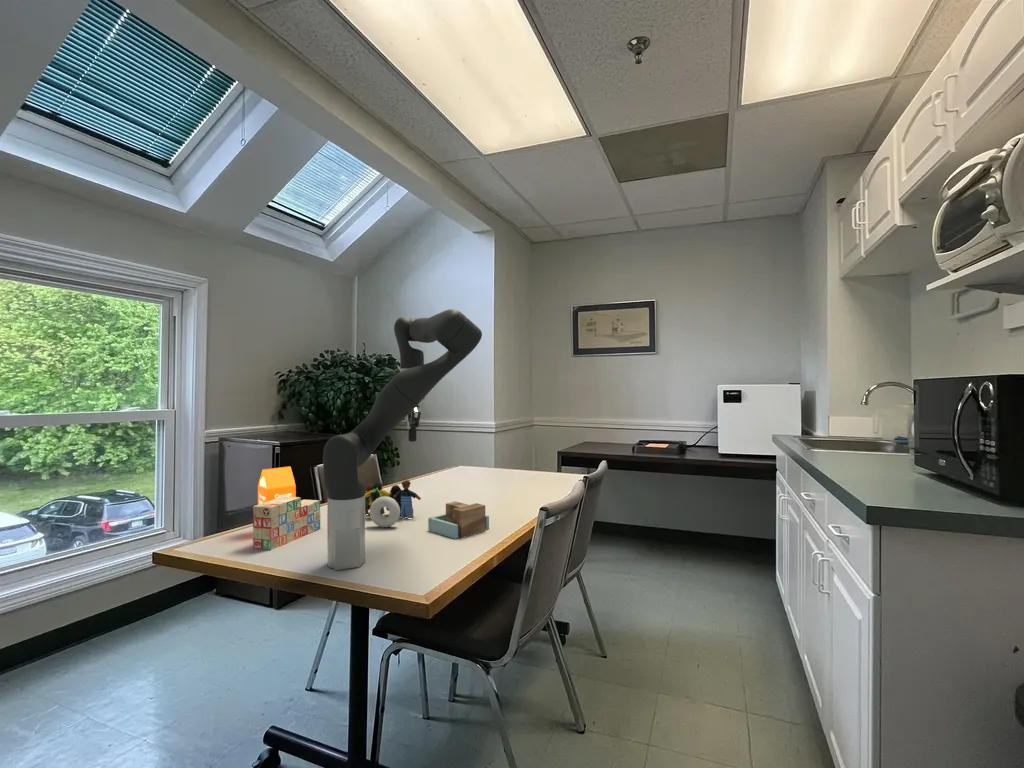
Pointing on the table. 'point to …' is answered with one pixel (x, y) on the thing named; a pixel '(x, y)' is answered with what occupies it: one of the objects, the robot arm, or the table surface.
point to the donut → (393, 510)
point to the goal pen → (447, 526)
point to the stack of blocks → (284, 521)
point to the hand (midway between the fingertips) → (412, 441)
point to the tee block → (466, 517)
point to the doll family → (396, 493)
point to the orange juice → (276, 484)
